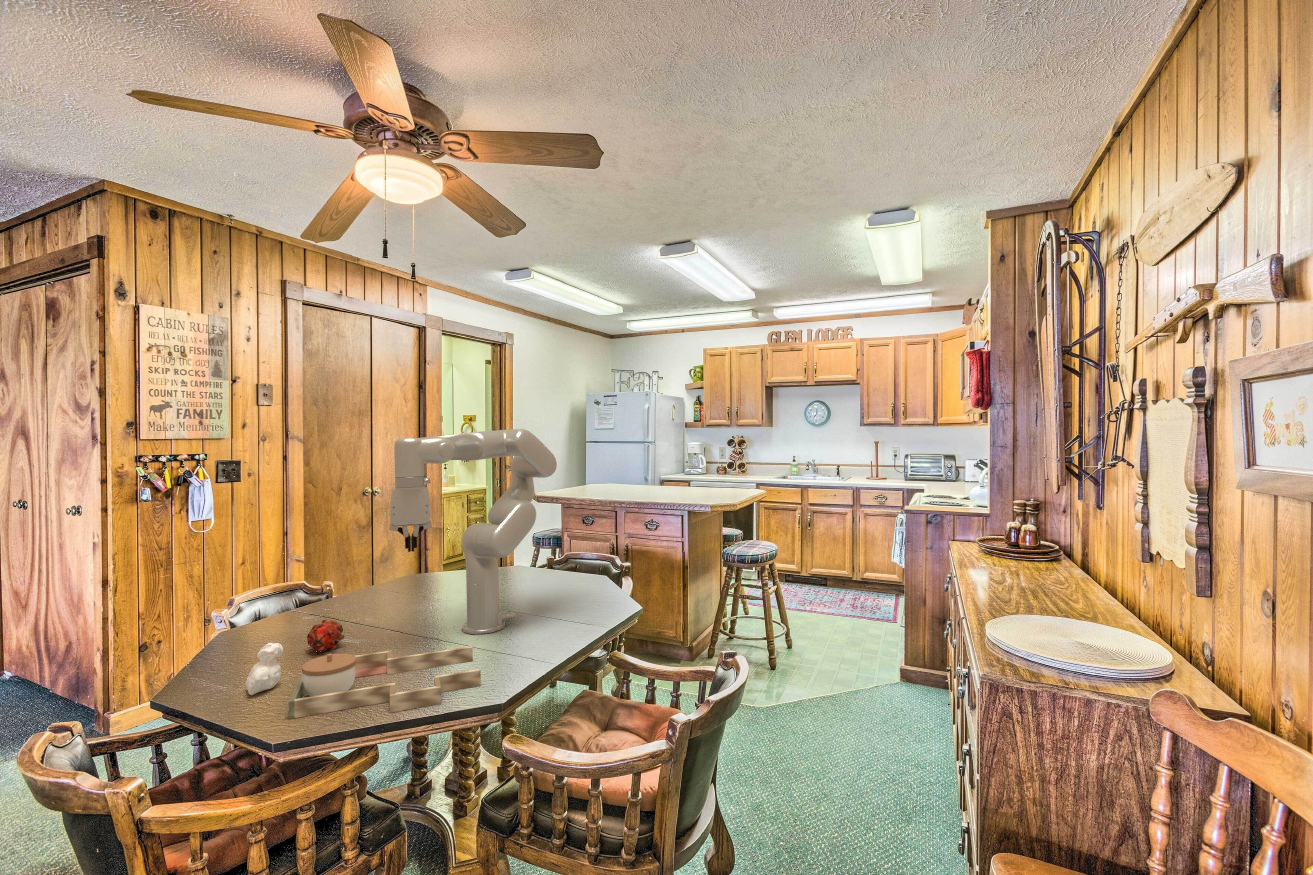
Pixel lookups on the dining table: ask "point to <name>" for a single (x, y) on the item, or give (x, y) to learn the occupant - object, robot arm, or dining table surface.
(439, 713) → the dining table surface
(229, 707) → the dining table surface
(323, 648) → the dragon fruit
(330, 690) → the lidded jar
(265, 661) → the duck figurine
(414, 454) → the robot arm
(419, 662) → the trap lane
